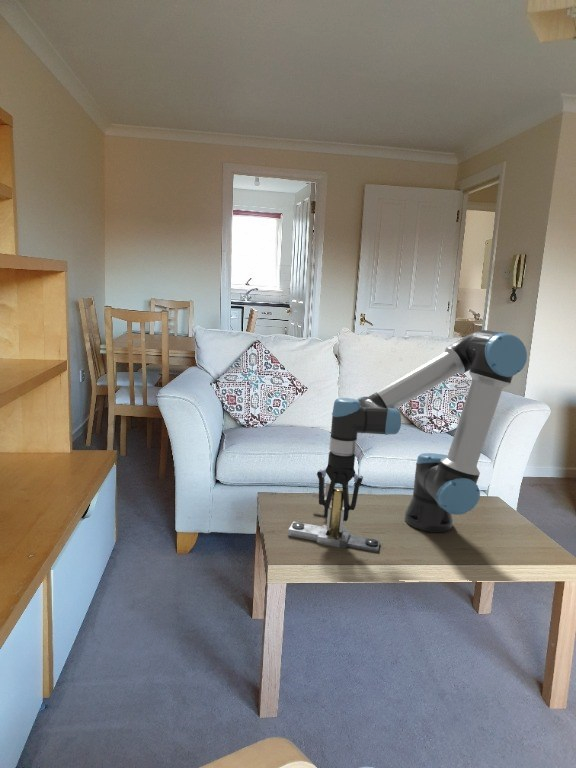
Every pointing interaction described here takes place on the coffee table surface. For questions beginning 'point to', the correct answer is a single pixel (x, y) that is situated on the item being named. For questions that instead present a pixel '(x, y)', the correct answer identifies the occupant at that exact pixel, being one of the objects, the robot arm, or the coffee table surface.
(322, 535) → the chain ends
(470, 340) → the robot arm
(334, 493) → the pin
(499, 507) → the coffee table surface
